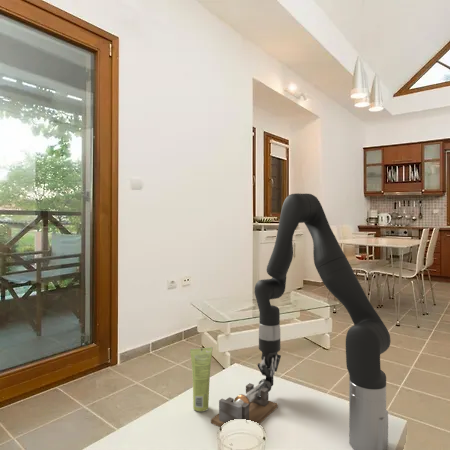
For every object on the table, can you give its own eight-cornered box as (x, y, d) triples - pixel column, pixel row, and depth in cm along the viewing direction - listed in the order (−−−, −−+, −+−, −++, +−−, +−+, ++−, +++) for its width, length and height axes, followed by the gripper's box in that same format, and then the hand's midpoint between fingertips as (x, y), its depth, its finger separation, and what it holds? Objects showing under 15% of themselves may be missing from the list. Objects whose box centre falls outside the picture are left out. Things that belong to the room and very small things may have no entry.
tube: (200, 402, 118) (200, 344, 118) (212, 406, 116) (212, 346, 116) (189, 409, 114) (189, 349, 114) (202, 414, 111) (202, 352, 111)
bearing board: (277, 407, 115) (277, 385, 115) (244, 437, 99) (244, 411, 99) (246, 396, 122) (246, 376, 122) (211, 423, 106) (211, 399, 106)
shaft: (272, 394, 120) (272, 380, 120) (241, 419, 104) (241, 403, 104) (259, 390, 122) (259, 376, 122) (227, 414, 107) (227, 398, 107)
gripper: (269, 343, 115) (269, 396, 115) (287, 333, 126) (287, 381, 126) (250, 339, 120) (250, 390, 120) (269, 329, 131) (269, 376, 131)
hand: (269, 385), depth 123 cm, fingers closed
